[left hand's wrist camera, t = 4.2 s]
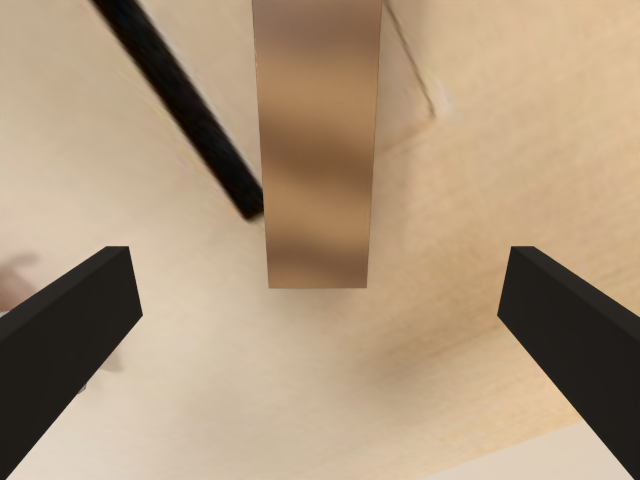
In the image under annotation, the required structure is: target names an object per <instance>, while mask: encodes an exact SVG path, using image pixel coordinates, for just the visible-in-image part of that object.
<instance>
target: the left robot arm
mask: <svg viewBox="0 0 640 480" xmlns="http://www.w3.org/2000/svg"><path fill="white" fill-rule="evenodd" d="M142 316H143V314H142V309H141V304H140V299H139V294H138V289H137V284H136V280H135V275H134V270H133V265H132V260H131V255H130V251H129V246H106V247H105V248H103V249H102V250H100V251H99V252H97V253H96V254H94V255H93V256H91V257H90V258H88V259H87V260H85V261H84V262H82V263H81V264H79V265H78V266H76V267H75V268H73V269H72V270H70V271H69V272H67V273H66V274H64V275H63V276H61V277H60V278H58V279H57V280H55V281H54V282H52V283H51V284H49V285H48V286H46V287H45V288H43V289H42V290H40V291H39V292H37V293H36V294H34V295H33V296H31V297H30V298H28V299H27V300H25V301H24V302H22V303H21V304H19V305H18V306H17V307H15V308H14V309H12V310H11V311H9V312H8V313H6V314H5V315H3V316H2V317H0V480H6V479H7V478H8V476H9V475H10V474H11V473H12V472H13V470H14V469H15V468H16V467H17V466H18V464H19V463H20V462H21V461H22V460H23V458H24V457H25V456H26V455H27V454H28V452H29V451H30V450H31V449H32V448H33V446H34V445H35V444H36V443H37V442H38V440H39V439H40V438H41V437H42V436H43V434H44V433H45V432H46V431H47V430H48V428H49V427H50V426H51V425H52V424H53V422H54V421H55V420H56V419H57V418H58V416H59V415H60V414H61V413H62V412H63V410H64V409H65V408H66V407H67V406H68V404H69V403H70V402H71V401H72V400H73V398H74V397H75V396H76V395H77V394H78V392H79V391H80V390H81V389H82V388H83V386H84V385H85V384H86V383H87V382H88V381H89V379H90V378H91V377H92V376H93V375H94V373H95V372H96V371H97V370H98V369H99V367H100V366H101V365H102V364H103V363H104V361H105V360H106V359H107V358H108V357H109V355H110V354H111V353H112V352H113V351H114V349H115V348H116V347H117V346H118V345H119V343H120V342H121V341H122V340H123V339H124V337H125V336H126V335H127V334H128V333H129V331H130V330H131V329H132V328H133V327H134V325H135V324H136V323H137V322H138V321H139V319H140V318H141V317H142ZM497 316H498V317H499V318H500V319H501V321H502V322H503V323H504V324H505V325H506V327H507V328H508V329H509V330H510V331H511V333H512V334H513V335H514V336H515V337H516V339H517V340H518V341H519V342H520V343H521V345H522V346H523V347H524V348H525V349H526V351H527V352H528V353H529V354H530V355H531V357H532V358H533V359H534V360H535V361H536V363H537V364H538V365H539V366H540V367H541V369H542V370H543V371H544V372H545V373H546V375H547V376H548V377H549V378H550V379H551V381H552V382H553V383H554V384H555V385H556V386H557V388H558V389H559V390H560V391H561V392H562V394H563V395H564V396H565V397H566V398H567V400H568V401H569V402H570V403H571V404H572V406H573V407H574V408H575V409H576V410H577V412H578V413H579V414H580V415H581V416H582V418H583V419H584V420H585V421H586V422H587V424H588V425H589V426H590V427H591V428H592V430H593V431H594V432H595V433H596V434H597V436H598V437H599V438H600V439H601V440H602V442H603V443H604V444H605V445H606V446H607V448H608V449H609V450H610V451H611V452H612V454H613V455H614V456H615V457H616V458H617V460H618V461H619V462H620V463H621V464H622V466H623V467H624V468H625V469H626V470H627V472H628V473H629V474H630V475H631V476H632V478H633V479H634V480H640V317H638V316H637V315H635V314H634V313H632V312H631V311H629V310H628V309H626V308H625V307H623V306H622V305H621V304H619V303H618V302H616V301H615V300H613V299H612V298H610V297H609V296H607V295H606V294H604V293H603V292H601V291H600V290H598V289H597V288H595V287H594V286H592V285H591V284H589V283H588V282H586V281H585V280H583V279H582V278H580V277H579V276H577V275H576V274H574V273H573V272H571V271H570V270H568V269H567V268H565V267H564V266H562V265H561V264H559V263H558V262H556V261H555V260H553V259H552V258H550V257H549V256H547V255H546V254H544V253H543V252H541V251H540V250H538V249H537V248H535V247H534V246H511V251H510V255H509V260H508V265H507V270H506V275H505V280H504V284H503V289H502V294H501V299H500V304H499V309H498V314H497Z"/></svg>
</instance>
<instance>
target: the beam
mask: <svg viewBox="0 0 640 480" xmlns="http://www.w3.org/2000/svg"><path fill="white" fill-rule="evenodd" d="M381 8H382V0H252V9H253V26H254V43H255V60H256V78H257V95H258V112H259V129H260V146H261V164H262V181H263V198H264V215H265V232H266V249H267V267H268V284H269V288H366V287H367V271H368V252H369V233H370V215H371V196H372V177H373V158H374V139H375V121H376V102H377V83H378V64H379V45H380V27H381Z"/></svg>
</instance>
